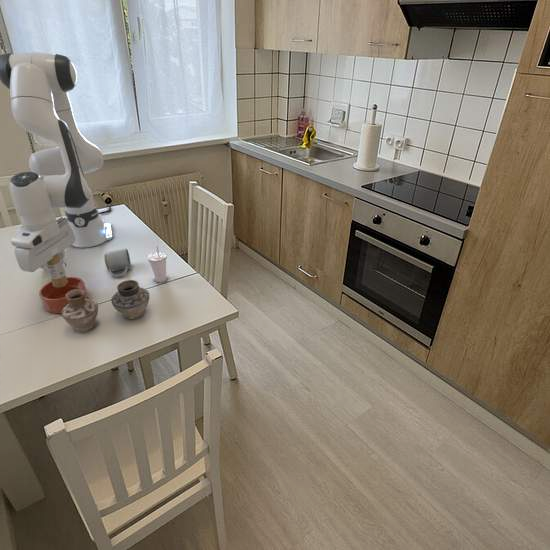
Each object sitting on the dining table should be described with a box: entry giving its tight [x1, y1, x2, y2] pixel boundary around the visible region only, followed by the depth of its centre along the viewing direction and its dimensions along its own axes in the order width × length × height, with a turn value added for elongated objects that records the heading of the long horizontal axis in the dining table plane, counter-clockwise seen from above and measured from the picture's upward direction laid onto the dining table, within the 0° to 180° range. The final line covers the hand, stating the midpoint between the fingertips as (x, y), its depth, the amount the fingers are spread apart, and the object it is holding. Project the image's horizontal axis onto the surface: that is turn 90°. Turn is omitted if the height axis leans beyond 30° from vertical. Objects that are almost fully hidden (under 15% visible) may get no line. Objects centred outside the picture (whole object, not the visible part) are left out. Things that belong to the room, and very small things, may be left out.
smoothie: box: [147, 244, 168, 283], centre depth 138 cm, size 6×6×14 cm
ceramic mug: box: [103, 247, 132, 279], centre depth 144 cm, size 11×8×8 cm
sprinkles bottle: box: [47, 247, 68, 287], centre depth 122 cm, size 5×5×14 cm
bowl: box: [38, 276, 89, 314], centre depth 128 cm, size 13×13×6 cm
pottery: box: [61, 279, 150, 333], centre depth 119 cm, size 11×25×12 cm, turn 117°
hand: (55, 268), depth 123 cm, fingers closed on sprinkles bottle, 4 cm apart
